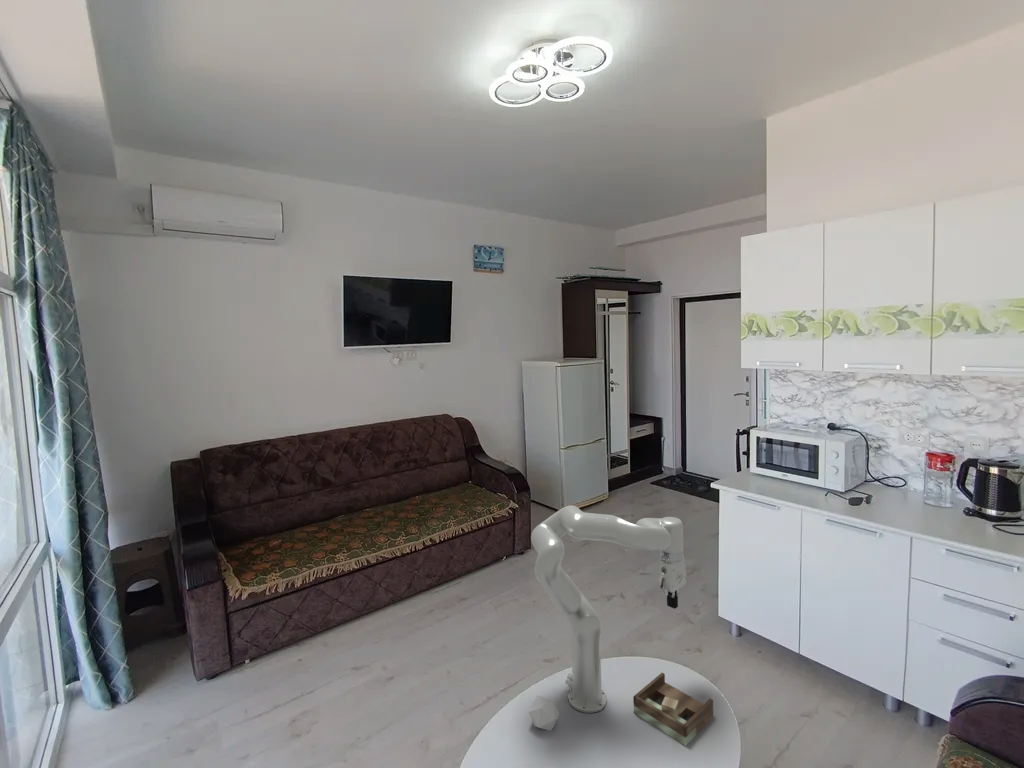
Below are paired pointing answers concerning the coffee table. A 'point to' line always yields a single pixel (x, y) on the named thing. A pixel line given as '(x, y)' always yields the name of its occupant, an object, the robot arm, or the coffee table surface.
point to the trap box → (682, 728)
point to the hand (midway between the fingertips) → (672, 606)
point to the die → (544, 713)
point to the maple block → (670, 707)
